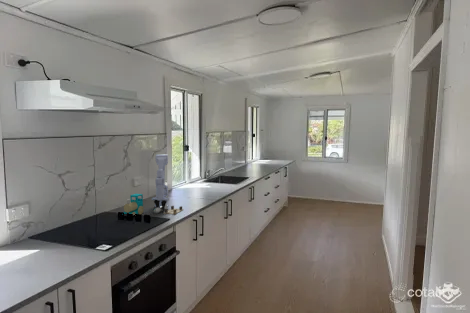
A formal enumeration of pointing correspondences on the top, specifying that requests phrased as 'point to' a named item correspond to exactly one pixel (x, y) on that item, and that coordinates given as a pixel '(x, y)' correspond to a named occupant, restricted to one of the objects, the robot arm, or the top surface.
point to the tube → (159, 209)
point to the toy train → (134, 205)
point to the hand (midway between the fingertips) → (160, 209)
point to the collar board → (173, 210)
